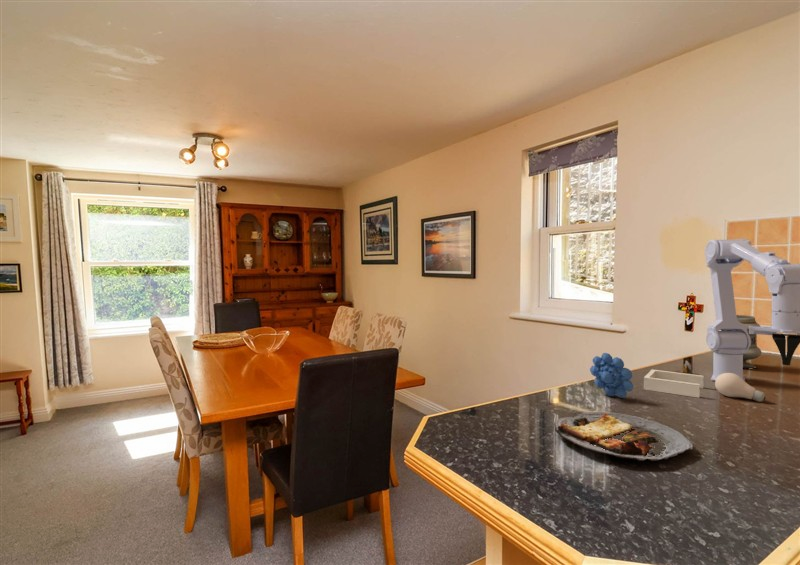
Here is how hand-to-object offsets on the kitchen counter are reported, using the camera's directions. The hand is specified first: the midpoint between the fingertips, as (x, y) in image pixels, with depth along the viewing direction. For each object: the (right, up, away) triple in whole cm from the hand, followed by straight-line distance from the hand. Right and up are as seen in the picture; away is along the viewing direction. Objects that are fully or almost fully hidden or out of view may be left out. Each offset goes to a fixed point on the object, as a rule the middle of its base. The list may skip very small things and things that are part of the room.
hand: (786, 364), depth 105 cm
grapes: (-40, -11, +9) cm, 43 cm away
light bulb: (-7, -11, +6) cm, 14 cm away
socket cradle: (-18, -10, +16) cm, 26 cm away
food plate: (-53, -12, -19) cm, 58 cm away
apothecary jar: (+22, -9, +41) cm, 47 cm away
